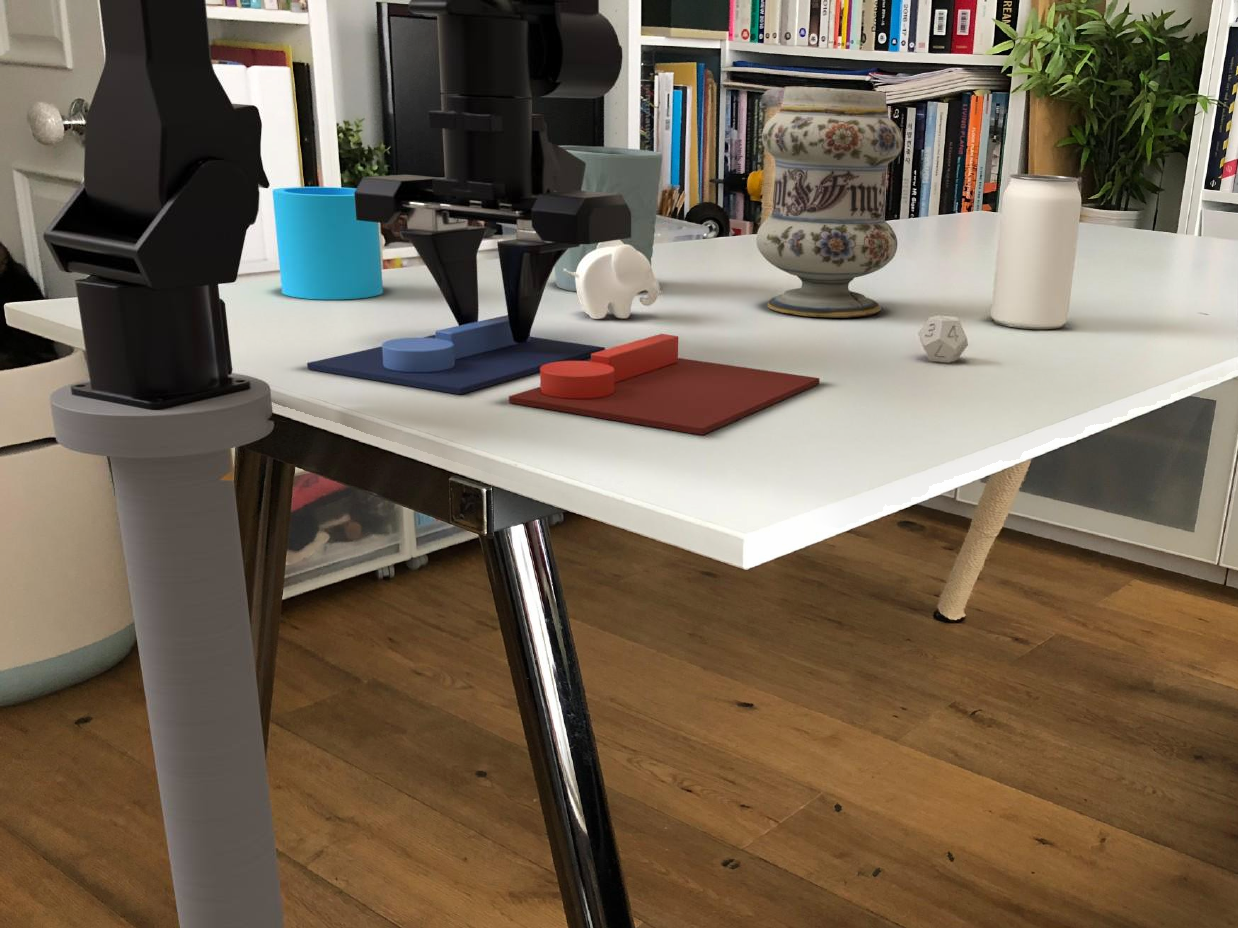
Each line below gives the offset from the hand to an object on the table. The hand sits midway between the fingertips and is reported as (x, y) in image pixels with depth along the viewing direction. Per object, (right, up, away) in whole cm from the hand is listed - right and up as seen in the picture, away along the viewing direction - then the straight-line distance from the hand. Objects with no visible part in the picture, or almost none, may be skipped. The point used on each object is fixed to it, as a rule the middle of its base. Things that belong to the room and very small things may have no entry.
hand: (495, 338), depth 90 cm
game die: (+31, -1, +5) cm, 32 cm away
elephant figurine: (+6, +5, +16) cm, 18 cm away
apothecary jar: (+23, +7, +24) cm, 34 cm away
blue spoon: (-2, -2, -3) cm, 4 cm away
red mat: (+13, -5, -9) cm, 16 cm away
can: (+41, +5, +22) cm, 47 cm away
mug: (-19, +8, +22) cm, 31 cm away
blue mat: (-2, -2, -3) cm, 4 cm away
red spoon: (+9, -4, -7) cm, 13 cm away
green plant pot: (+3, +10, +30) cm, 32 cm away
